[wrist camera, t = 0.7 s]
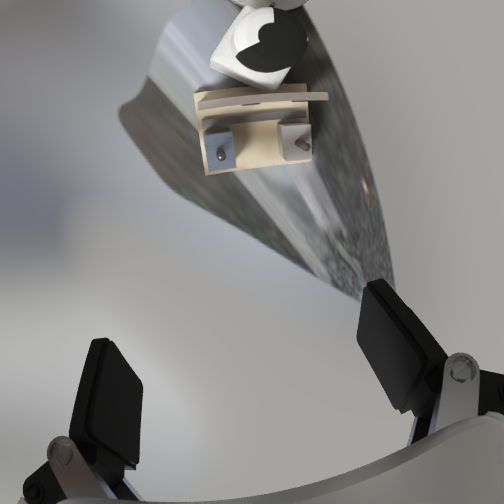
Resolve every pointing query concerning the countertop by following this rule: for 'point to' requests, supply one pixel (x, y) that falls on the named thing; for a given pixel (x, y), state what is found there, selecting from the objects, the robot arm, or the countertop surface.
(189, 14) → the countertop surface
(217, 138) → the sliding pin
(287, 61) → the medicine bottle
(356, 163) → the countertop surface
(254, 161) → the board
